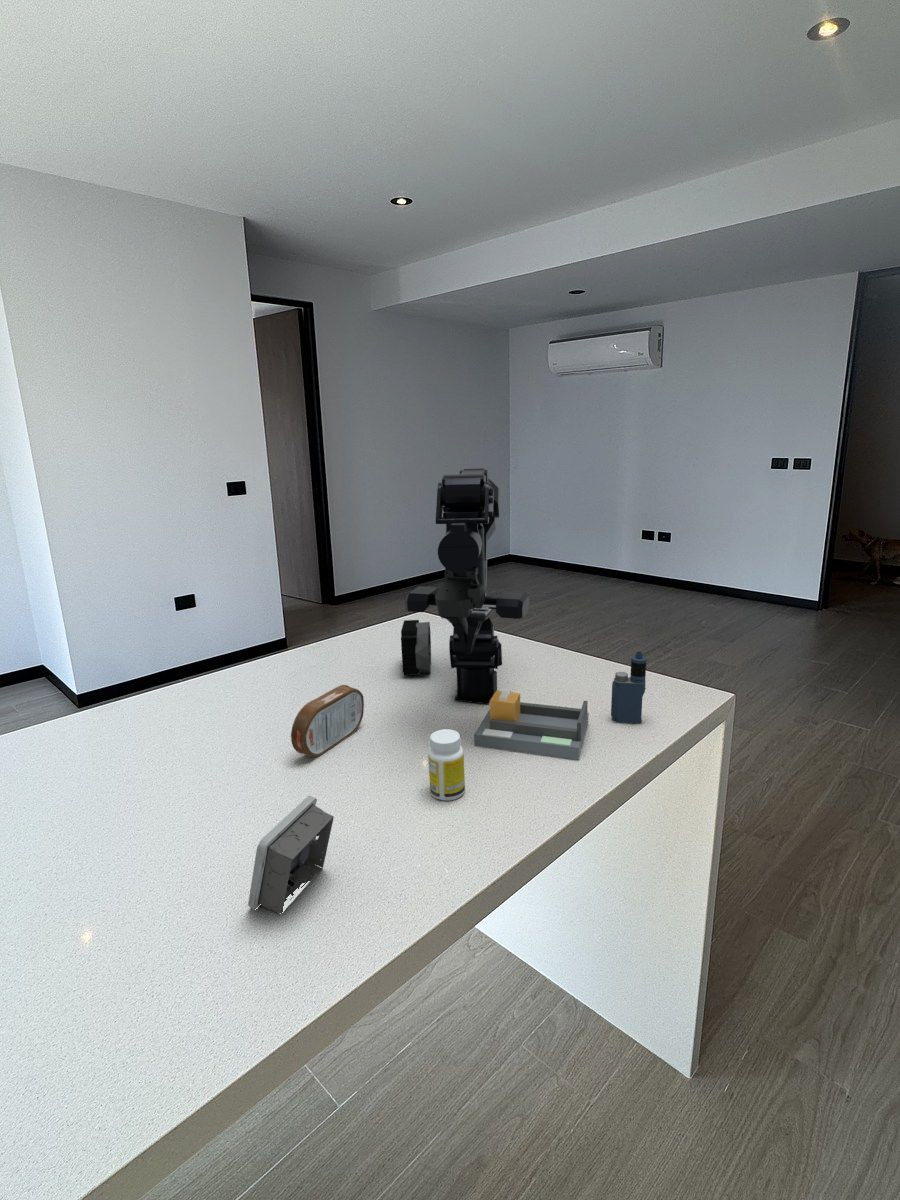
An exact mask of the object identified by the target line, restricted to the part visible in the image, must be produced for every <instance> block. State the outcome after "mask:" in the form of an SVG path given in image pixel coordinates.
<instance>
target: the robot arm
mask: <svg viewBox="0 0 900 1200" xmlns="http://www.w3.org/2000/svg"><path fill="white" fill-rule="evenodd" d="M489 477H490V476H489V469H485V468H484V467H483V468H482V467H481V468H463V469H462V470H461V469H460V471H459V473H458V474H443V476H442V479H441V482H438V483H437V489H436V491H437V492H436V507H435V508H436V509H435V525H445V526H446V527H445V534H444V536H443V537H442V539H440V542H439V543H438V548H437V557H438V560H439V562H440V564H441V565H442V566H443V567H444V578H443V581H442V583H441V584H440V586H439V587H438V586H425V585H424V586H421V585H420V586H417V587H416V588H415V589H413V590H411V591H410V592H408V594H407V595H406V596H405V611H407V612H411V613H424V612H425V611H426V610H428V608H429V606H436V610H437V614H438V616H439V617H440V618H441V619H446V620H447V622H449V623H450V624H451V625H452V627H453V629H452V630H453V632H452V635H451V634H450V635H449V640H448V641H449V642H448V643H449V646H448V647H449V648H448V649H449V651H448V652H449V660H450V669H456V695H455V696H454V697H453V699H454V701H459V702H467V703H477V704H485V705H487V704H490V700H491V698H492V696H493V695H494V693H495V692H496V691H498V673H497V672H498V671H497V670H498V668H499V667H501V666H503V653H502V651H503V650H502V643H501V642H500V641H499V637H498V635H495V628H494V624H493V622H492V619H491V618H490V617H491V616H492V615H493V613H494V612H495V613H496V614H497V615H498V616H499V617H500V618H501V619H513V620H514V619H516V620H517V619H518V620H519V619H523V618H524V616H525V615H526V614H527V612H528V611H529V609H530V596H529V595H528V593H527V592H526V591H515V590H514V591H513V590H503V591H502V592H501V593H500V594H499V596H488V595H487V590H488V589H487V584H488V583H487V582H488V581H487V580H488V579H487V578H488V577H487V576H488V542H489V540H490V538H491V536H492V535H493V534H494V532H495V531H496V529H497V518H498V519H499V518H500V514H501V512H500V511H501V509H500V508H501V505H500V504H501V503H500V489H499V487H498V485H497V484H496V483H494V482H493V481H492V480H491V479H490V478H489ZM494 610H495V611H494Z"/></svg>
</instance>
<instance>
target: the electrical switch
mask: <svg viewBox="0 0 900 1200" xmlns="http://www.w3.org/2000/svg"><path fill="white" fill-rule="evenodd" d="M317 802H318V799H317V797H314V796H312V795H308V796H306V798H304V799H303V800H302V801H301V802H300V803H299V804H298V805H296V807H294V808H293V809H292V811H290V812H289V813H288V814H287V815H286V816H285V817H284V818H283V819H282V820H281V821H279V823H277V824H276V825H274V827H273V828H272V829H271V830H270V831H268V833H266V834H265V835H264V836H263V837H262V838H261V839H260V841H259V843H258V845H257V847H256V851H255V852H256V853H255V857H254V858H255V859H254V866H253V872H252V878H251V883H250V890H249V896H248V904H247V906H248V907H249V908H250V909H252V911H254V910H255V909H256V908H257V907H258V906H259V905H260V904H261V906H262V907H265V908H266V909H268V910H271V911H273V912H275V913H277V912H278V913H277V914H279V913H281V914H282V912H283V906H284V902H285V901H286V900H287V899H286V898H287V897H288V896H289V895H290V894H291V895H292V896H293V895H294V894H293V892H294V891H295V890H296V889H297V888H298V889H299V887H300V885H301V884H302V883H305V882H306V883H307V882H308V881H311V880H312V879H313V878H314V876H315V875H316V874H317V875H319V873H320V872H321V871H322V870H323V868H324V865H325V859H326V857H327V856H326V855H327V851H328V847H329V841H330V838H331V837H330V836H331V832H332V828H333V822H334V819H335V817H334V815H331V814H329V813H328V812H325V810H323V809H322V808H321V807H318V806H316V805H317ZM317 837H318V838H317ZM321 869H322V870H321ZM317 875H316V876H317ZM316 876H315V877H316ZM314 879H315V878H314ZM314 879H313V880H314ZM313 880H312V881H313ZM289 881H291V882H292V883H293V884H294V885H292V886H291V885H289V883H288V882H289ZM312 881H311V882H312ZM306 883H305V884H306ZM305 884H304V885H305ZM304 885H303V886H304ZM303 886H302V887H303ZM302 887H301V888H302ZM282 915H283V914H282Z"/></svg>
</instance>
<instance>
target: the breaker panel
mask: <svg viewBox="0 0 900 1200" xmlns="http://www.w3.org/2000/svg"><path fill="white" fill-rule="evenodd" d="M588 705H589V704H588V700H583V702H582V705H581V708H576V707H568V706H567V707H566V706H558V705H549V704H540V703H530V702H523V701H520V717H519V719H518V721H517V722H516V721H508V720H500V719H491V720H490V708H489V709H488V711H487V712H486V714H485V716H484V718H483V719H482V721H481V722H480V723H479V726H478V727H477V729H476V731H475V732H474V733H473V737H474V738H473V742H474V744H473V745H474V747H480V748H485V749H486V748H487V749H494V750H502V751H510V752H514V753H515V752H516V753H522V754H523V753H524V754H530V755H538V756H539V755H540V756H545V757H546V756H547V757H553V758H559V759H561V758H562V759H567V760H573V761H574V760H575V761H579V760H580V757H581V753H582V749H583V746H582V745H583V744H584V741H585V737H586V733H587V729H588V725H589V716H590V715H589V712H588Z"/></svg>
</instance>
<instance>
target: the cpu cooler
mask: <svg viewBox="0 0 900 1200" xmlns="http://www.w3.org/2000/svg"><path fill="white" fill-rule="evenodd" d="M431 633H432V632H431V623H430V621H424V622H420V620H419V619H406V620H403V623H402V627H401V630H400V647H401V649H400V650H401V661H402V663H401V664H402V674H403V676H419V675H420V674H431V669H432V668H431V667H432V639H431V636H432V635H431Z"/></svg>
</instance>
